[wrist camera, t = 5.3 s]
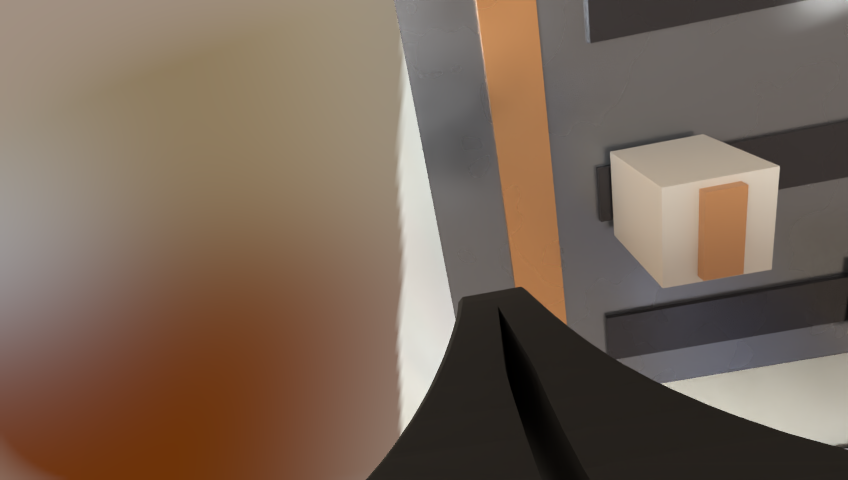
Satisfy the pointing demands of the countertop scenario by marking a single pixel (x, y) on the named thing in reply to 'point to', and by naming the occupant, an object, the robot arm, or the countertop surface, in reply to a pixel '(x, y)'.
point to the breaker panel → (625, 128)
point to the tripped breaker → (694, 209)
